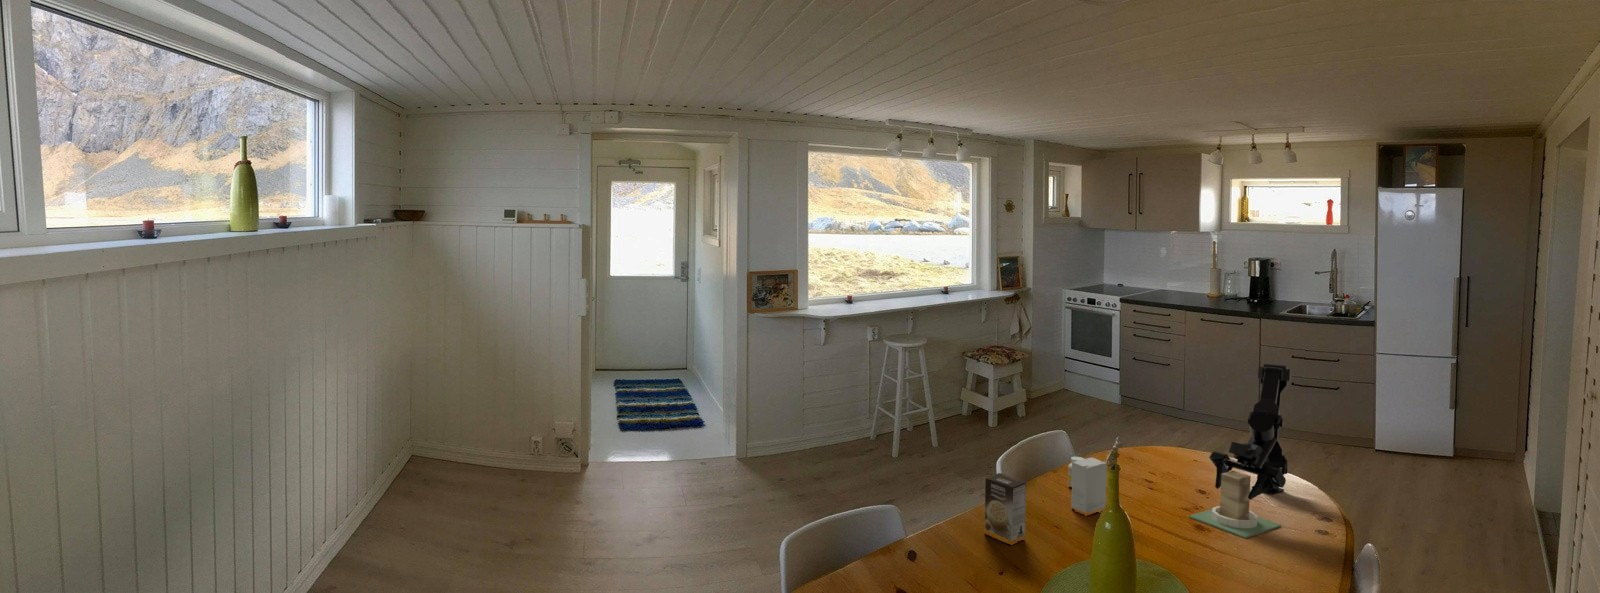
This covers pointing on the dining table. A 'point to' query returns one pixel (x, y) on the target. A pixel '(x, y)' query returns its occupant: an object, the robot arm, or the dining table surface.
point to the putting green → (1235, 523)
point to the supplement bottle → (1073, 459)
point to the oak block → (1235, 495)
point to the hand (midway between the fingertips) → (1232, 493)
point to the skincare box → (1088, 485)
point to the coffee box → (1005, 506)
